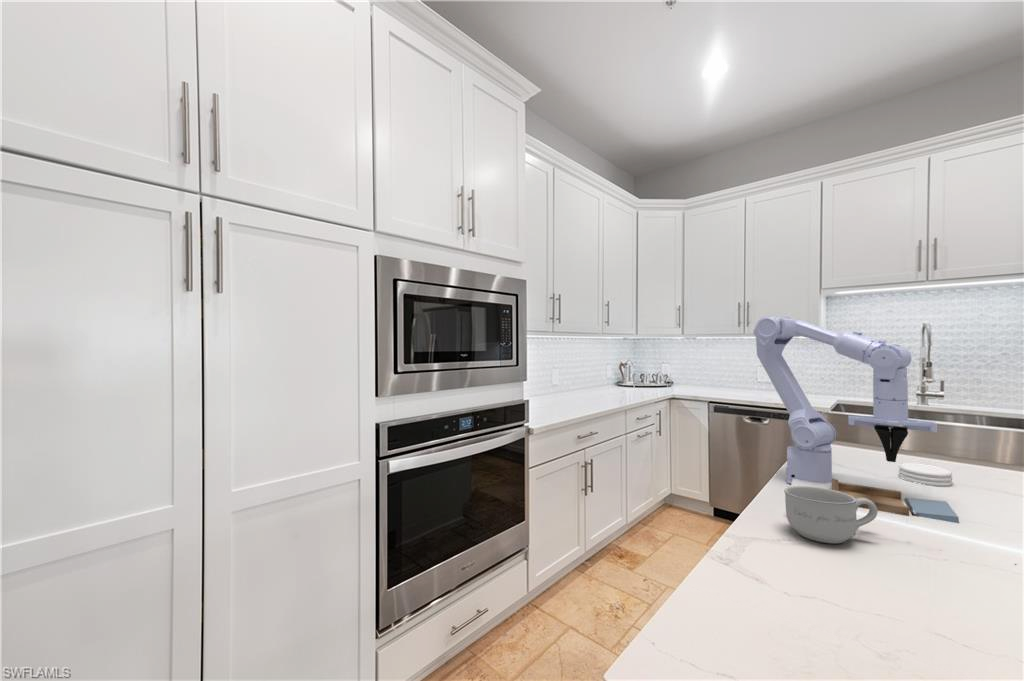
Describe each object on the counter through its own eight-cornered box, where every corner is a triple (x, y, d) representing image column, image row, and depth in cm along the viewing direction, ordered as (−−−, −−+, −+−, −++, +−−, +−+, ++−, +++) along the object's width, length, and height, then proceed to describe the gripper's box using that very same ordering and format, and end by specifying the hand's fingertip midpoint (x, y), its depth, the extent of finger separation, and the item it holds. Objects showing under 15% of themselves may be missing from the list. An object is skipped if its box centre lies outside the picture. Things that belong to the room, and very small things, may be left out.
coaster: (902, 473, 117) (902, 460, 117) (954, 482, 109) (954, 468, 109) (895, 480, 110) (895, 466, 110) (950, 490, 103) (950, 476, 103)
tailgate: (911, 512, 83) (958, 517, 79) (903, 497, 92) (945, 500, 88) (912, 518, 83) (959, 524, 79) (904, 502, 92) (946, 506, 88)
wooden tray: (832, 509, 90) (832, 492, 90) (831, 493, 100) (831, 478, 100) (909, 523, 83) (909, 505, 83) (900, 505, 92) (900, 489, 92)
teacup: (787, 542, 75) (787, 496, 75) (781, 519, 85) (781, 479, 85) (889, 560, 69) (889, 511, 69) (870, 534, 78) (870, 490, 78)
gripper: (849, 398, 95) (849, 459, 95) (940, 403, 86) (941, 470, 86) (847, 395, 100) (848, 453, 100) (933, 400, 92) (933, 463, 92)
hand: (890, 460), depth 93 cm, fingers closed
